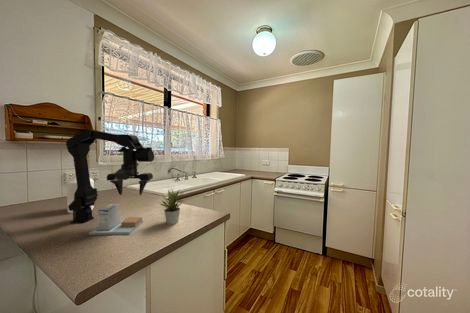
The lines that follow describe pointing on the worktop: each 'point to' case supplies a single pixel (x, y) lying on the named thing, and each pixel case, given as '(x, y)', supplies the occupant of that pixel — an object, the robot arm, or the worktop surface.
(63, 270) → the worktop surface
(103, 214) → the medicine box
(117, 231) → the board
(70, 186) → the bottle
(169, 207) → the house plant
